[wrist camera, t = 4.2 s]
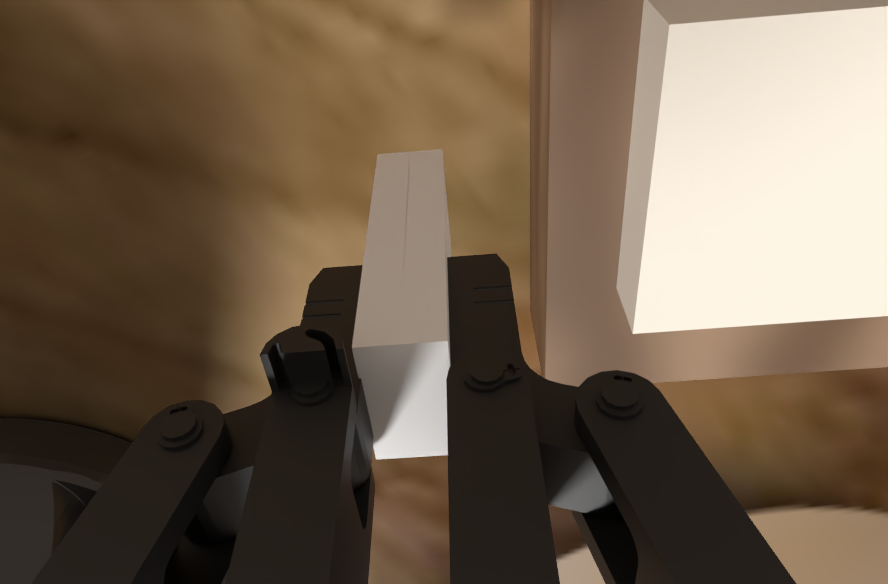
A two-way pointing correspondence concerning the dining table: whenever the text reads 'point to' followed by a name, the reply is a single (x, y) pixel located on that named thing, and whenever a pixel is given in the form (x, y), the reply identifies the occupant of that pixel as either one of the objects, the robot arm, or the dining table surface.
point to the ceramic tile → (757, 165)
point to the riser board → (601, 217)
